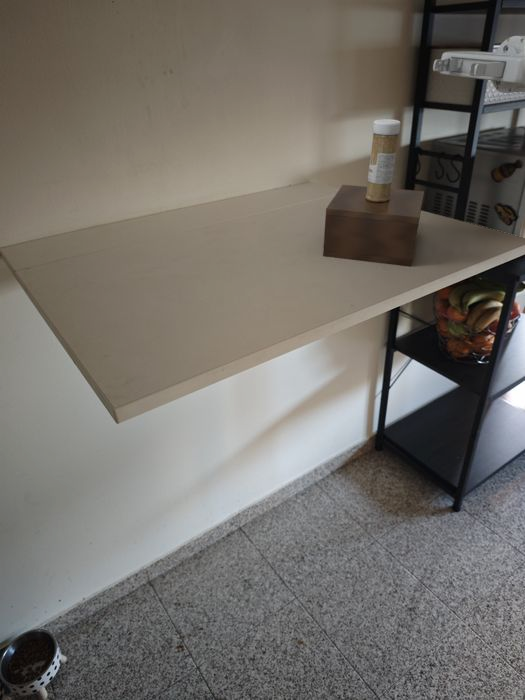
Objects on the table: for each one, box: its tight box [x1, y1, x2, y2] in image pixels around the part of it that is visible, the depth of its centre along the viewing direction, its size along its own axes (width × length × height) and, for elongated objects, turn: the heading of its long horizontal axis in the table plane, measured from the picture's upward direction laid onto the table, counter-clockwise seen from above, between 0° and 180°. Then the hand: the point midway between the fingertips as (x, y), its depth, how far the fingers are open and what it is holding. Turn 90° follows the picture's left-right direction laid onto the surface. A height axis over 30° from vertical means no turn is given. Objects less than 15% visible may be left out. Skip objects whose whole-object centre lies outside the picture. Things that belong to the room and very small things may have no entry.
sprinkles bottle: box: [366, 118, 401, 202], centre depth 89 cm, size 5×5×13 cm
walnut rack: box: [322, 184, 425, 267], centre depth 95 cm, size 16×16×9 cm
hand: (453, 67), depth 85 cm, fingers open, 8 cm apart
